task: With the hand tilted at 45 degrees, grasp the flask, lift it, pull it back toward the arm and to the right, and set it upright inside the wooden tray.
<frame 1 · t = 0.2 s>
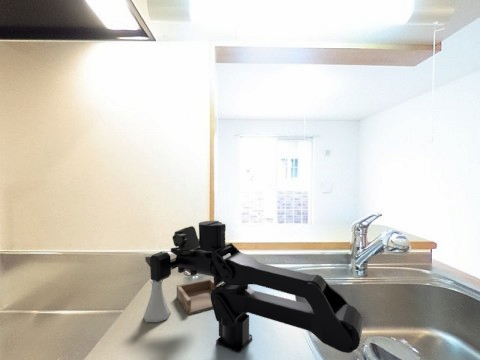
hand: (159, 254, 74), 17 cm above the table, tool horizontal, fingers open, 9 cm apart
flask: (157, 316, 72), on the table
wooden tray: (201, 300, 81), on the table
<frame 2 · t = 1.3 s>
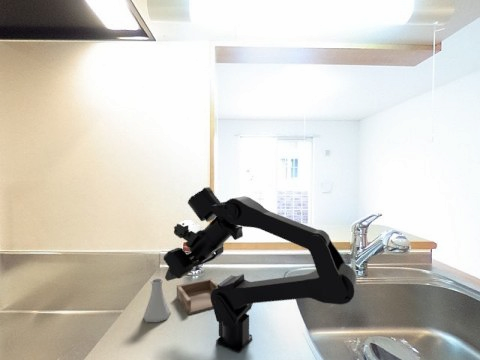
hand: (178, 272, 68), 13 cm above the table, tool tilted 45°, fingers open, 9 cm apart
nothing on the table moved.
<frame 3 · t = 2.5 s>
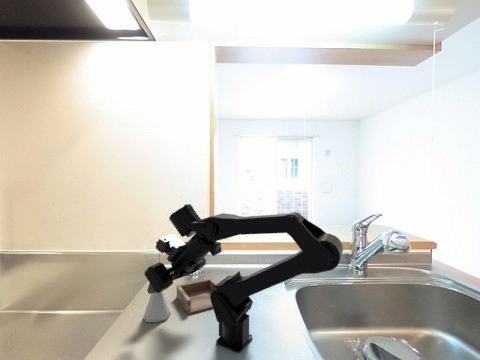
hand: (161, 284, 71), 9 cm above the table, tool tilted 45°, fingers open, 9 cm apart
nothing on the table moved.
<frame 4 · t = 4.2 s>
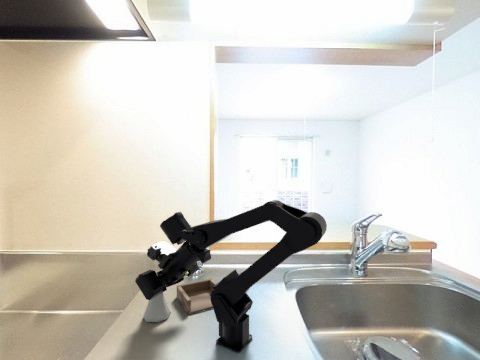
hand: (153, 291, 72), 7 cm above the table, tool tilted 45°, fingers closed on flask, 3 cm apart
flask: (157, 316, 72), on the table, touching gripper
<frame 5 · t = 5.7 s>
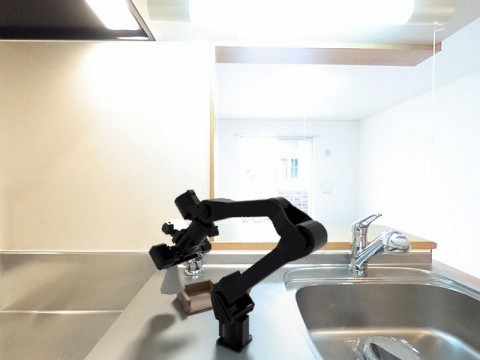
hand: (169, 266, 76), 12 cm above the table, tool tilted 45°, fingers closed on flask, 3 cm apart
flask: (172, 290, 76), point 5 cm above the table, touching gripper
when the fingers open (8 cm above the table, at t = 7.7 s): flask stays where it is, resting on wooden tray.
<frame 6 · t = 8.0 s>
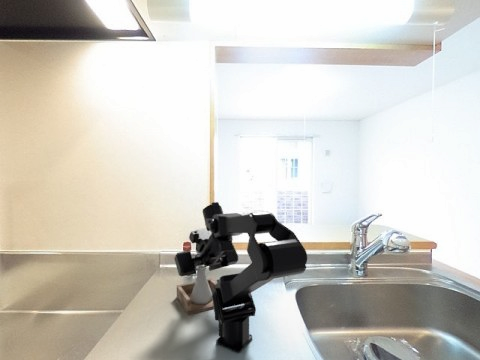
hand: (199, 271, 82), 9 cm above the table, tool tilted 45°, fingers open, 7 cm apart
flask: (201, 299, 81), resting on wooden tray
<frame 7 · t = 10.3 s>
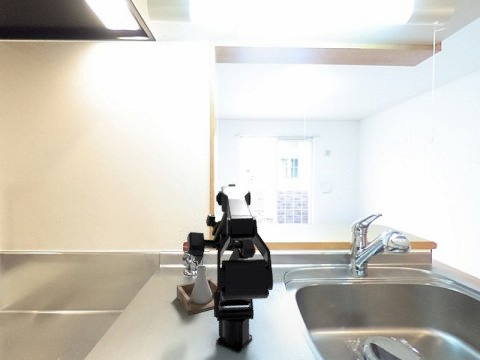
hand: (213, 263, 76), 13 cm above the table, tool tilted 35°, fingers open, 9 cm apart
nothing on the table moved.
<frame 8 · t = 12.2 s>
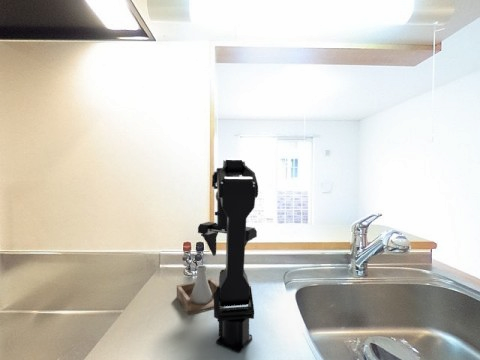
hand: (226, 257, 82), 13 cm above the table, tool pointing down, fingers open, 9 cm apart
nothing on the table moved.
at the end: flask 0.1 cm off-centre on the wooden tray, point 0.4 cm above the wooden tray's base; flask tilted 0°; the gripper is holding nothing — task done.
